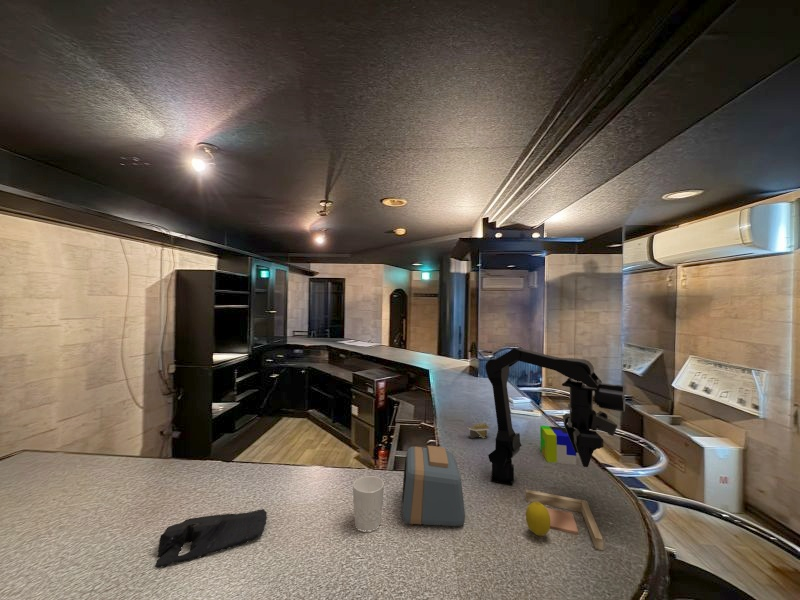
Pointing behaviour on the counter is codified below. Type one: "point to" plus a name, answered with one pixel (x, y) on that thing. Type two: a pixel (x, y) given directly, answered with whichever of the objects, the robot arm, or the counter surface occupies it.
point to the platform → (478, 430)
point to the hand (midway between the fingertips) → (581, 459)
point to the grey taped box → (432, 488)
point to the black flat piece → (209, 535)
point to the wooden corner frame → (567, 514)
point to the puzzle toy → (557, 445)
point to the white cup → (368, 502)
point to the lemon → (538, 518)
